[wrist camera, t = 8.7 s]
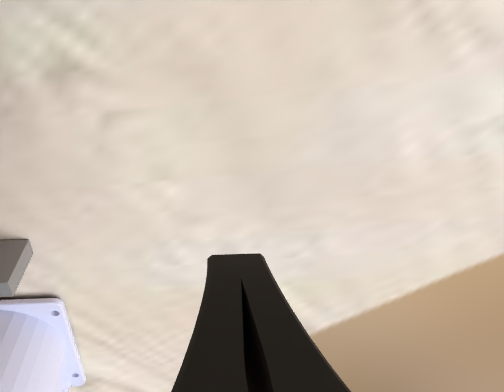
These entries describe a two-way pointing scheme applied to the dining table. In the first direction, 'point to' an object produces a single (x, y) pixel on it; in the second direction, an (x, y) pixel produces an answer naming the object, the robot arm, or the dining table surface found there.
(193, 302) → the dining table surface
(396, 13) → the dining table surface
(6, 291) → the airplane jig
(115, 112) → the dining table surface
